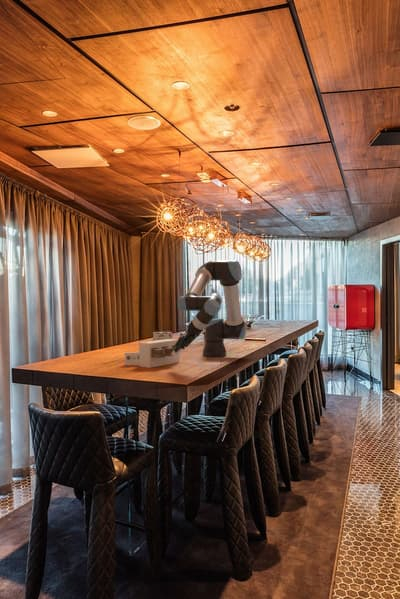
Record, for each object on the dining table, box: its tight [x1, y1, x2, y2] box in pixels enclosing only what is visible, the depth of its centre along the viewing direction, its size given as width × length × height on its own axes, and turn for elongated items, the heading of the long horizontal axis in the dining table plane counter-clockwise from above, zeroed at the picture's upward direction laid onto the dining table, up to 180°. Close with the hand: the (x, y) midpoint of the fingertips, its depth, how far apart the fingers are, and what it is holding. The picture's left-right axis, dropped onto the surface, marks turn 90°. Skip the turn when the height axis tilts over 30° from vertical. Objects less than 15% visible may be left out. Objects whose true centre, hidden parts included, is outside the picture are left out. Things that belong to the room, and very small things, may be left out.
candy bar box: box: [152, 331, 173, 341], centre depth 279 cm, size 11×5×16 cm, turn 76°
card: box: [124, 351, 139, 366], centre depth 257 cm, size 10×1×7 cm, turn 98°
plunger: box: [151, 348, 165, 358], centre depth 250 cm, size 4×9×4 cm, turn 51°
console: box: [138, 338, 180, 369], centre depth 260 cm, size 24×8×13 cm, turn 141°
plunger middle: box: [162, 347, 175, 357], centre depth 256 cm, size 4×9×4 cm, turn 51°
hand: (173, 355), depth 242 cm, fingers closed
